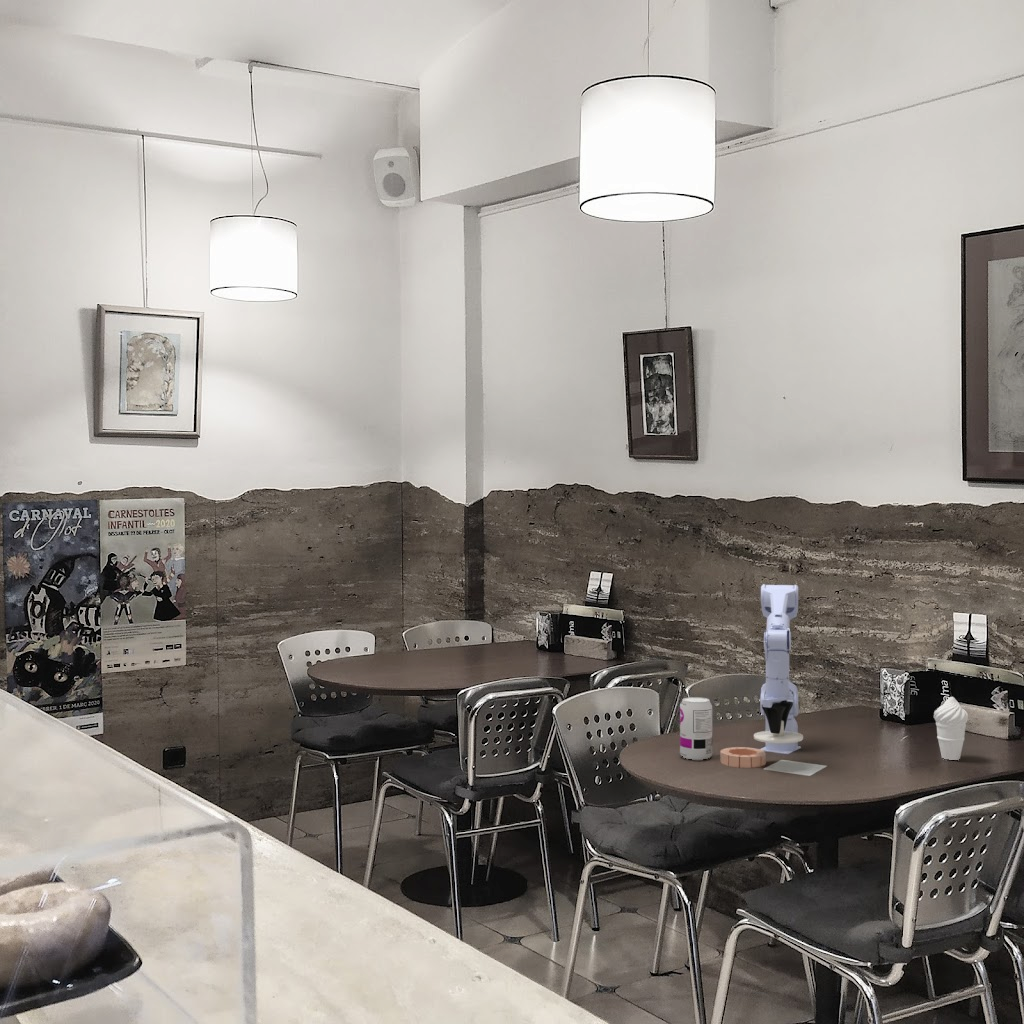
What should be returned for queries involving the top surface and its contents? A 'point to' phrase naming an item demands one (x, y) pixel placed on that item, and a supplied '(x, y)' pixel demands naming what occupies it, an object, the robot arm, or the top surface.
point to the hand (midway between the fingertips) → (777, 731)
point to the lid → (778, 736)
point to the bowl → (743, 757)
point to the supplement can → (696, 728)
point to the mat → (795, 767)
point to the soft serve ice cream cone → (951, 728)
